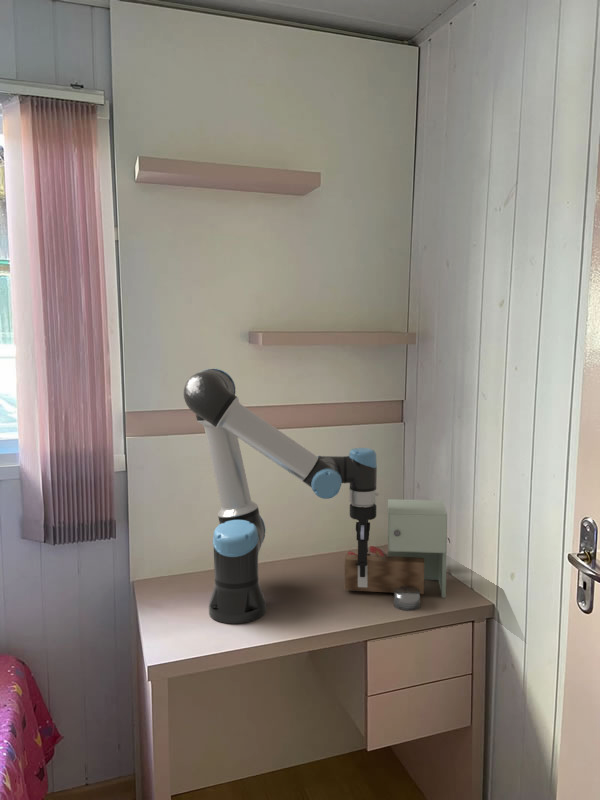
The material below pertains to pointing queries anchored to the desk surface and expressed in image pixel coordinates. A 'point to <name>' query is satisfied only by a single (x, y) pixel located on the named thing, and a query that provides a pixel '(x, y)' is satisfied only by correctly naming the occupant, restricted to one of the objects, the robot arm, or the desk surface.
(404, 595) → the silver metal dome
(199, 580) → the desk surface
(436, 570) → the green bedside cabinet
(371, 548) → the pliers
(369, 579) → the brown wooden block
